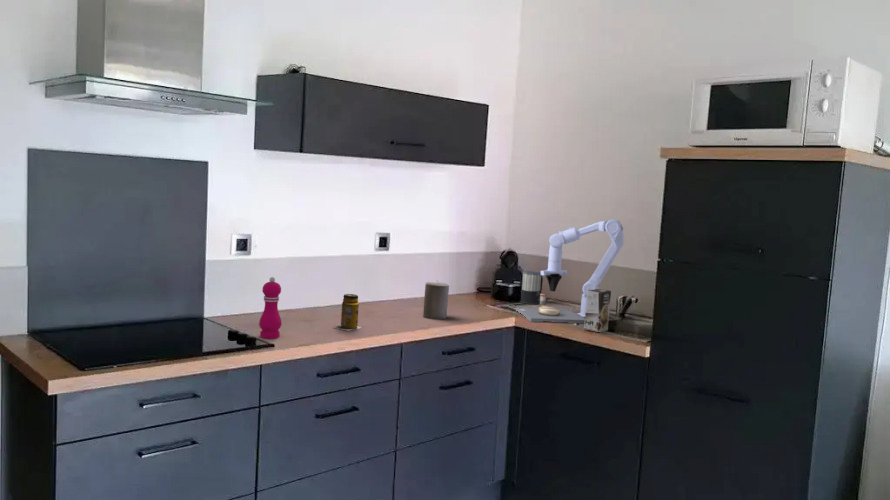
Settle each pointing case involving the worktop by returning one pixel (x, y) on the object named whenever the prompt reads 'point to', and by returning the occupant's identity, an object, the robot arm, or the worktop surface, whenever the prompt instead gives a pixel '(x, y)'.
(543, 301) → the cam dial
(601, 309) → the coffee box
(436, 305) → the pillar candle
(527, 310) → the stand board
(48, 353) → the worktop surface
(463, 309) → the worktop surface
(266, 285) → the pepper mill
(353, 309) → the condiment
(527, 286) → the milk frother
